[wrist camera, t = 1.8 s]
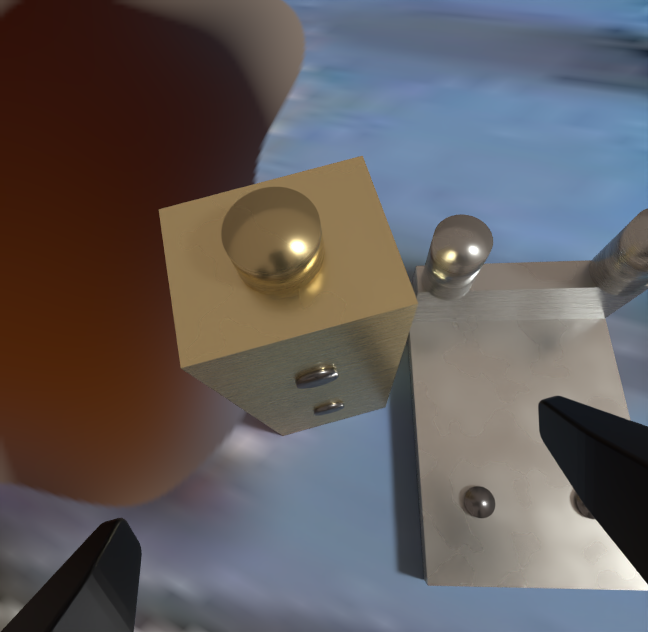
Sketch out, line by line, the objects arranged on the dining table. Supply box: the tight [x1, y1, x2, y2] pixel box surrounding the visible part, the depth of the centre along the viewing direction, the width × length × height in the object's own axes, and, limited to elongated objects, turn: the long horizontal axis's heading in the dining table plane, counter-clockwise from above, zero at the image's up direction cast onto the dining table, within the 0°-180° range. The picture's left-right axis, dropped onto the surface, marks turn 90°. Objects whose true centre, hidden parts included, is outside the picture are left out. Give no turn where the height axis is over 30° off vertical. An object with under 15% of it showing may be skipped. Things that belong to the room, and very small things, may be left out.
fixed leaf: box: [408, 209, 648, 590], centre depth 16 cm, size 12×9×8 cm
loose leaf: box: [159, 156, 418, 436], centre depth 15 cm, size 4×5×14 cm
